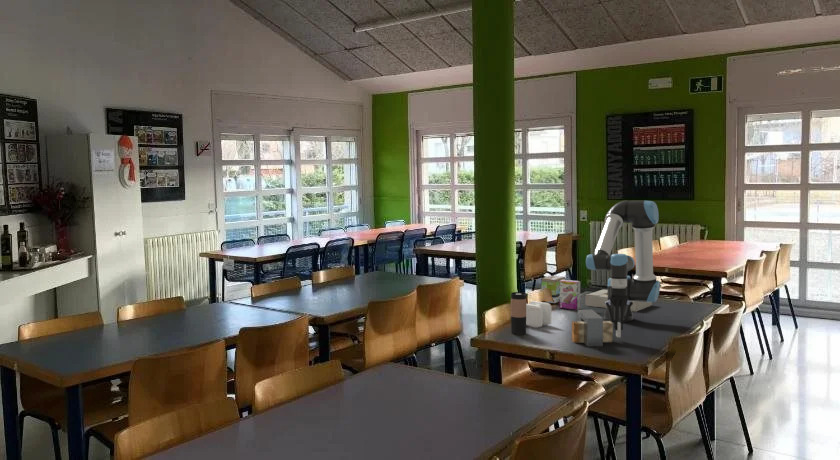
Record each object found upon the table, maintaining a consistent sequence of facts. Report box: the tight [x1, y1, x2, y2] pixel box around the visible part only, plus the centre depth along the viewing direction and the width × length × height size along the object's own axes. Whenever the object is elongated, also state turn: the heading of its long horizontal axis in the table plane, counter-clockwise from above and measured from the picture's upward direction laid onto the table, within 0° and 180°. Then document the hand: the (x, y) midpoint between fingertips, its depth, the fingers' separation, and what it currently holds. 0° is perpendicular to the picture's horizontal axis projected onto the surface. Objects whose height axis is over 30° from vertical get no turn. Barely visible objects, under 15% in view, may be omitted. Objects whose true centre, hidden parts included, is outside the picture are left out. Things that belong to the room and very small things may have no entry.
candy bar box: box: [558, 279, 581, 311], centre depth 403 cm, size 11×5×16 cm, turn 58°
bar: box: [571, 320, 614, 344], centre depth 325 cm, size 18×5×9 cm, turn 90°
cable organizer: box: [526, 300, 553, 329], centre depth 360 cm, size 15×11×12 cm
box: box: [584, 289, 653, 312], centre depth 411 cm, size 23×8×32 cm
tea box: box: [540, 275, 566, 304], centre depth 428 cm, size 15×10×15 cm
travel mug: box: [510, 291, 527, 336], centre depth 343 cm, size 8×8×20 cm
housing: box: [577, 309, 604, 347], centre depth 325 cm, size 7×20×13 cm, turn 0°
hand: (618, 336), depth 326 cm, fingers closed
